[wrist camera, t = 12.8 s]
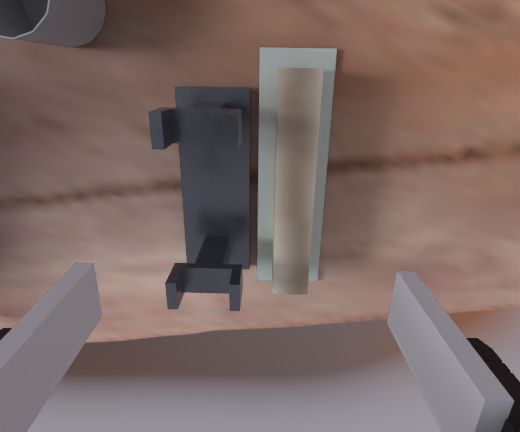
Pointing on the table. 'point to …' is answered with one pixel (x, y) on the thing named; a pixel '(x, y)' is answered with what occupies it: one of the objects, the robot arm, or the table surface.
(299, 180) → the rail
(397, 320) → the robot arm
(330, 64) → the mat
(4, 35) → the cup
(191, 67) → the table surface
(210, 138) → the rack
